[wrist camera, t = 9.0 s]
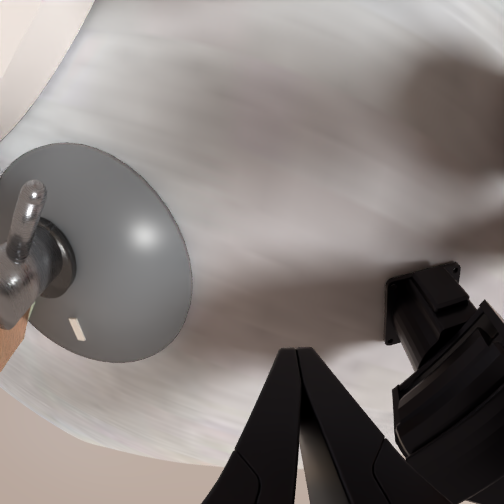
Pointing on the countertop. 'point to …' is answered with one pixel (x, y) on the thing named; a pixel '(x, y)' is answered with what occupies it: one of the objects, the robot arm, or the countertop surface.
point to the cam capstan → (30, 266)
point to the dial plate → (105, 254)
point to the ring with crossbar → (33, 50)
